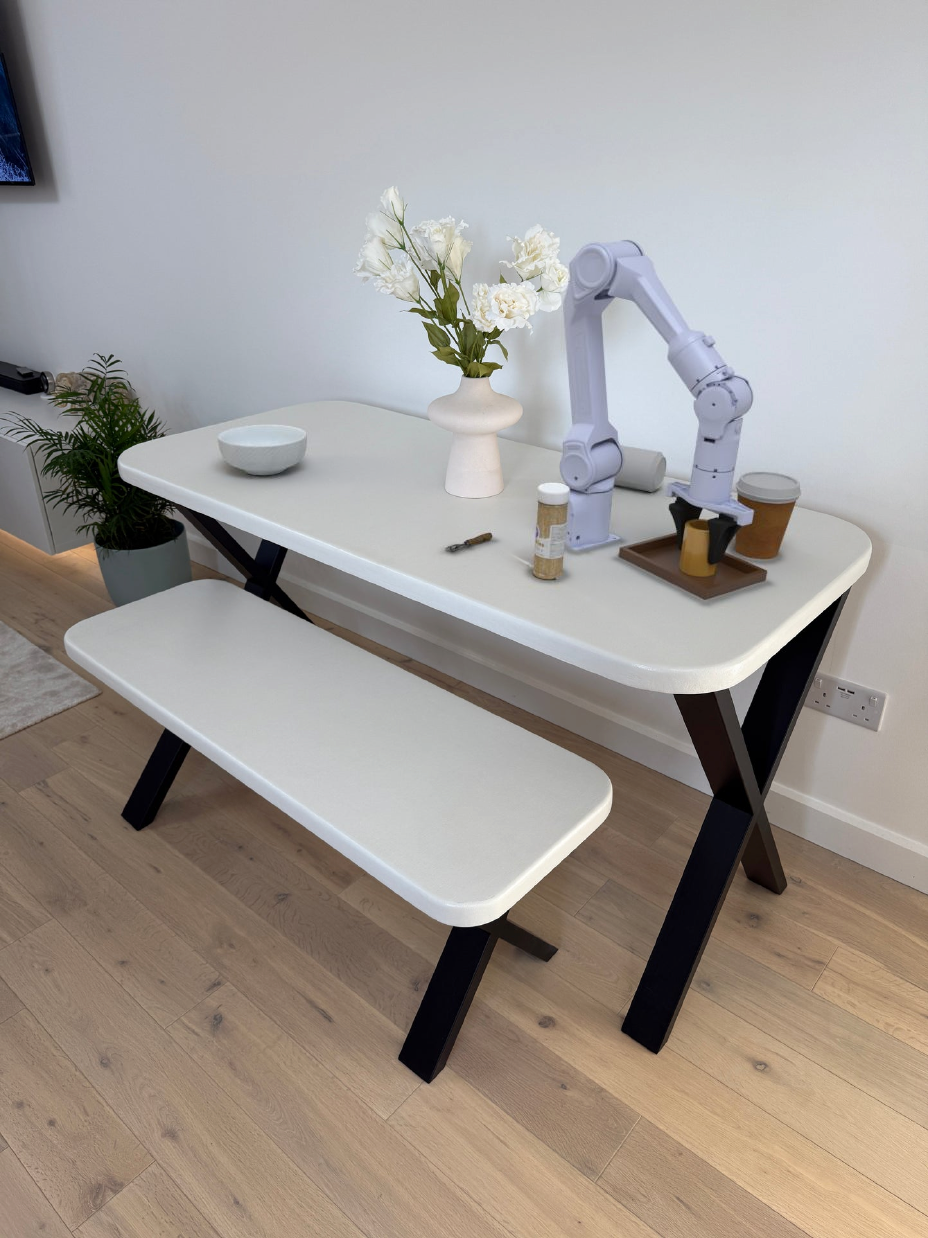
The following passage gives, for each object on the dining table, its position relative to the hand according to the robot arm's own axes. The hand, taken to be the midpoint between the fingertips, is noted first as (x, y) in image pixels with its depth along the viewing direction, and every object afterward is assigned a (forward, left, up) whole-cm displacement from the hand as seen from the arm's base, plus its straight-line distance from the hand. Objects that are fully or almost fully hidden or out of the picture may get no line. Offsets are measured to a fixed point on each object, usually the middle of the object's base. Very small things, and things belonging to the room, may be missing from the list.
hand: (699, 555), depth 125 cm
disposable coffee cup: (+13, 0, -3) cm, 14 cm away
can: (+21, +30, +1) cm, 36 cm away
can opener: (-23, +26, -3) cm, 35 cm away
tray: (0, +1, -3) cm, 3 cm away
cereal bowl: (-36, +79, -3) cm, 87 cm away
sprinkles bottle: (-19, +11, -3) cm, 23 cm away
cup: (0, 0, -2) cm, 2 cm away
